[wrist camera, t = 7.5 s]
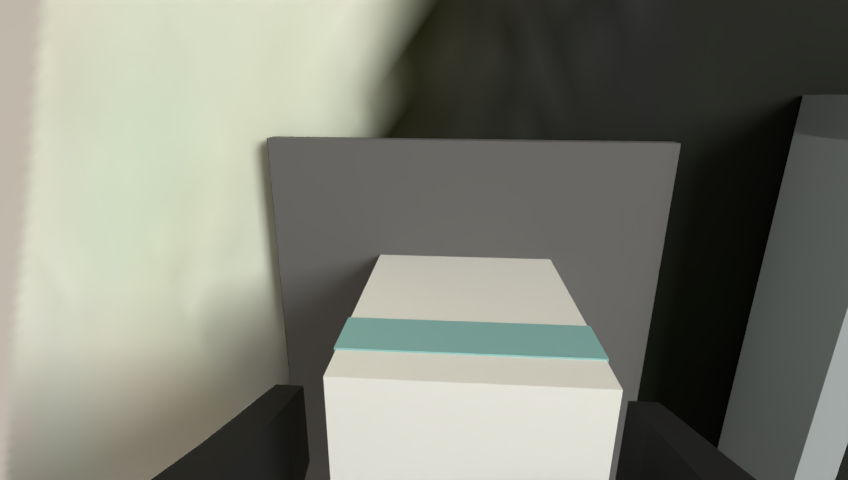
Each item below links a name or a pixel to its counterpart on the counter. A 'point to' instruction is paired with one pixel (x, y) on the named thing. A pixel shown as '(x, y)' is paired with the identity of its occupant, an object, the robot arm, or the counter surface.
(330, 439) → the carton
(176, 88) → the counter surface
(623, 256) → the gray panel
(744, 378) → the tray rim
